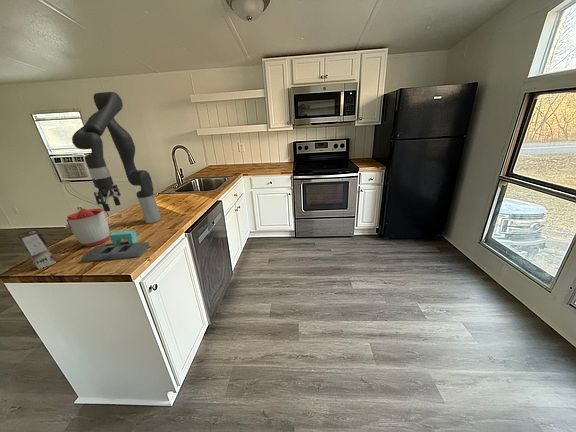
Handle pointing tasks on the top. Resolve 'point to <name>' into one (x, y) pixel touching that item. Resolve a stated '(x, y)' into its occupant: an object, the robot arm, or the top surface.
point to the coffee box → (36, 248)
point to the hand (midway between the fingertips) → (113, 208)
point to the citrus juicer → (89, 226)
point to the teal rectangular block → (123, 237)
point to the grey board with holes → (116, 252)
